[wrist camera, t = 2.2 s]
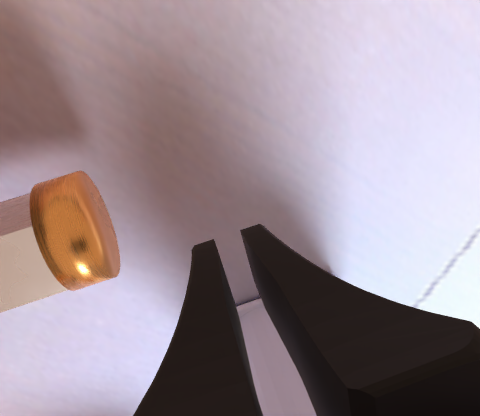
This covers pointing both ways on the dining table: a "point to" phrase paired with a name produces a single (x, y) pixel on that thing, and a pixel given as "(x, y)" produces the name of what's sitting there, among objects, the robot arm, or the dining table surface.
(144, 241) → the dining table surface
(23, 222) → the shaft
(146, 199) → the dining table surface
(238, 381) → the robot arm
